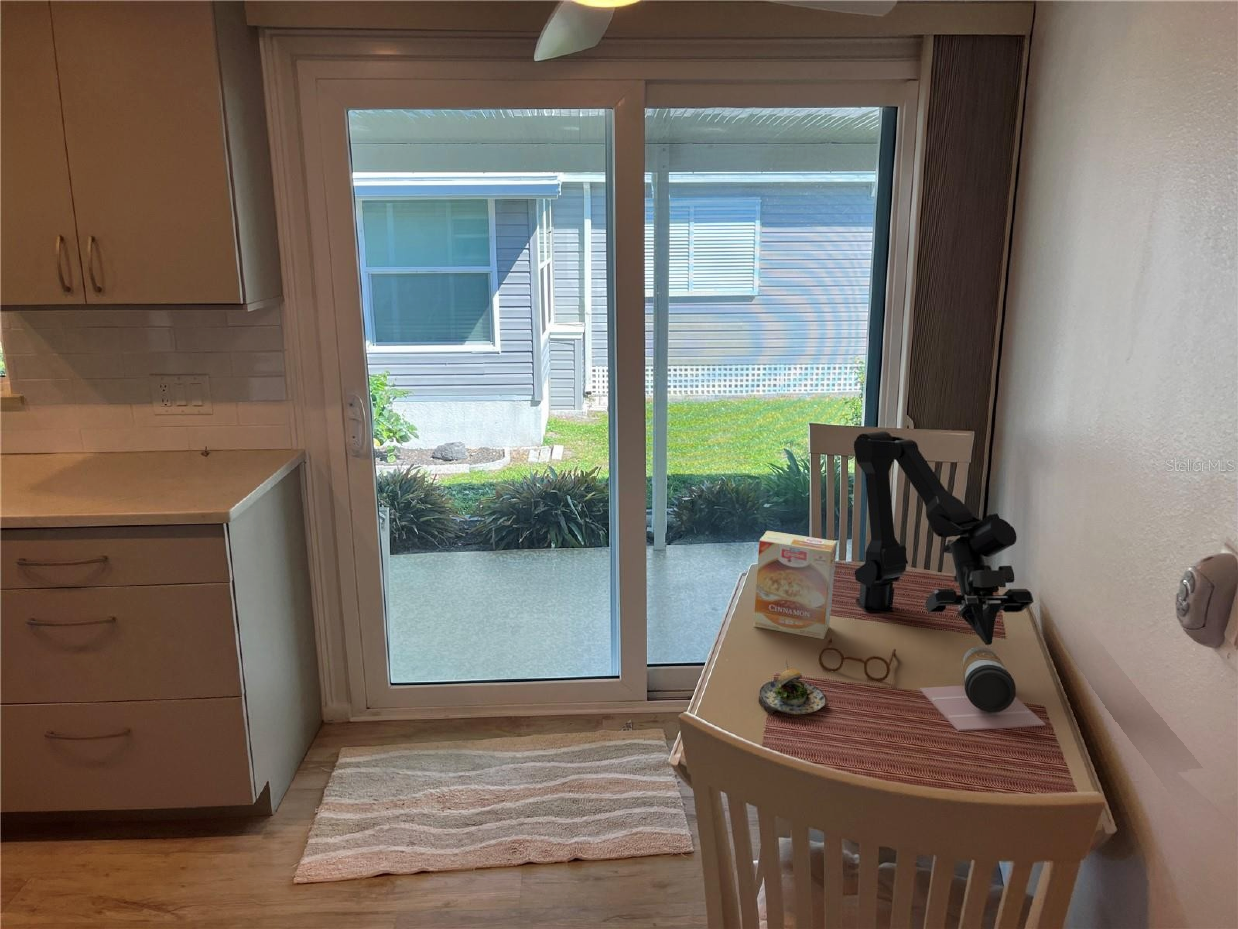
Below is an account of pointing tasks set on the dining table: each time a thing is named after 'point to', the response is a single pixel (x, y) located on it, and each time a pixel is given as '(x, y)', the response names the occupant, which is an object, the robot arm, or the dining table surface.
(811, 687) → the burger
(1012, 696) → the coffee cup
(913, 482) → the robot arm
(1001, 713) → the pink napkin
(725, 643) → the dining table surface
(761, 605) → the coffeecake box
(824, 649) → the glasses
